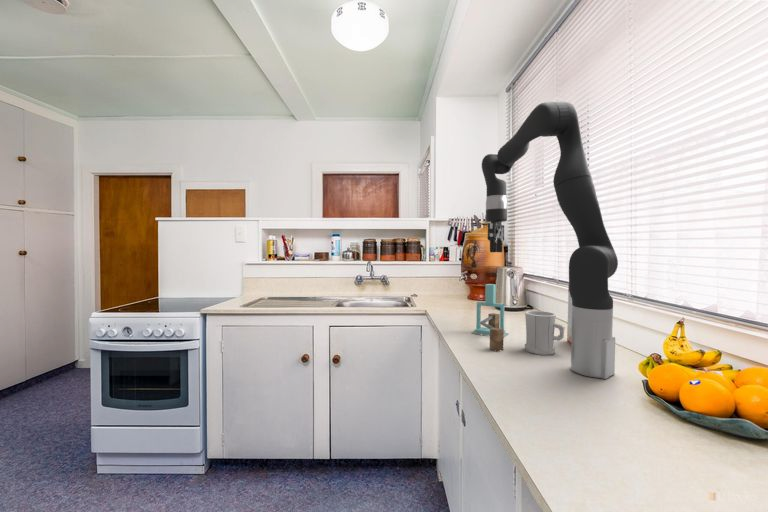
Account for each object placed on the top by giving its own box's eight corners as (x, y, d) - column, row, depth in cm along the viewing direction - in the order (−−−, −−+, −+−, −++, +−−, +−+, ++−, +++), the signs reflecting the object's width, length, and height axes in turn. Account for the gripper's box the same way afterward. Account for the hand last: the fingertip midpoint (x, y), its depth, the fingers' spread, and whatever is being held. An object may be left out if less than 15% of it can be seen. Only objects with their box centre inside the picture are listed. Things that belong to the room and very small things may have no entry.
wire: (495, 316, 137) (495, 314, 137) (498, 332, 112) (498, 330, 112) (480, 315, 139) (480, 313, 139) (480, 331, 113) (480, 328, 113)
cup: (554, 347, 115) (555, 311, 114) (566, 356, 106) (566, 316, 105) (521, 346, 116) (521, 310, 115) (529, 355, 107) (530, 315, 106)
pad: (503, 338, 126) (503, 337, 126) (471, 333, 133) (471, 332, 133) (508, 334, 132) (508, 333, 132) (477, 329, 139) (477, 329, 139)
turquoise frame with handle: (501, 336, 128) (502, 285, 127) (474, 332, 133) (475, 284, 132) (505, 333, 132) (505, 284, 131) (478, 330, 137) (479, 283, 137)
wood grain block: (499, 330, 139) (499, 313, 138) (503, 352, 110) (504, 331, 109) (488, 329, 140) (488, 312, 139) (489, 350, 111) (489, 330, 111)
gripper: (501, 206, 123) (501, 252, 123) (511, 209, 135) (511, 252, 135) (480, 207, 127) (480, 252, 127) (491, 211, 139) (491, 252, 139)
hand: (496, 252), depth 131 cm, fingers open, 8 cm apart
